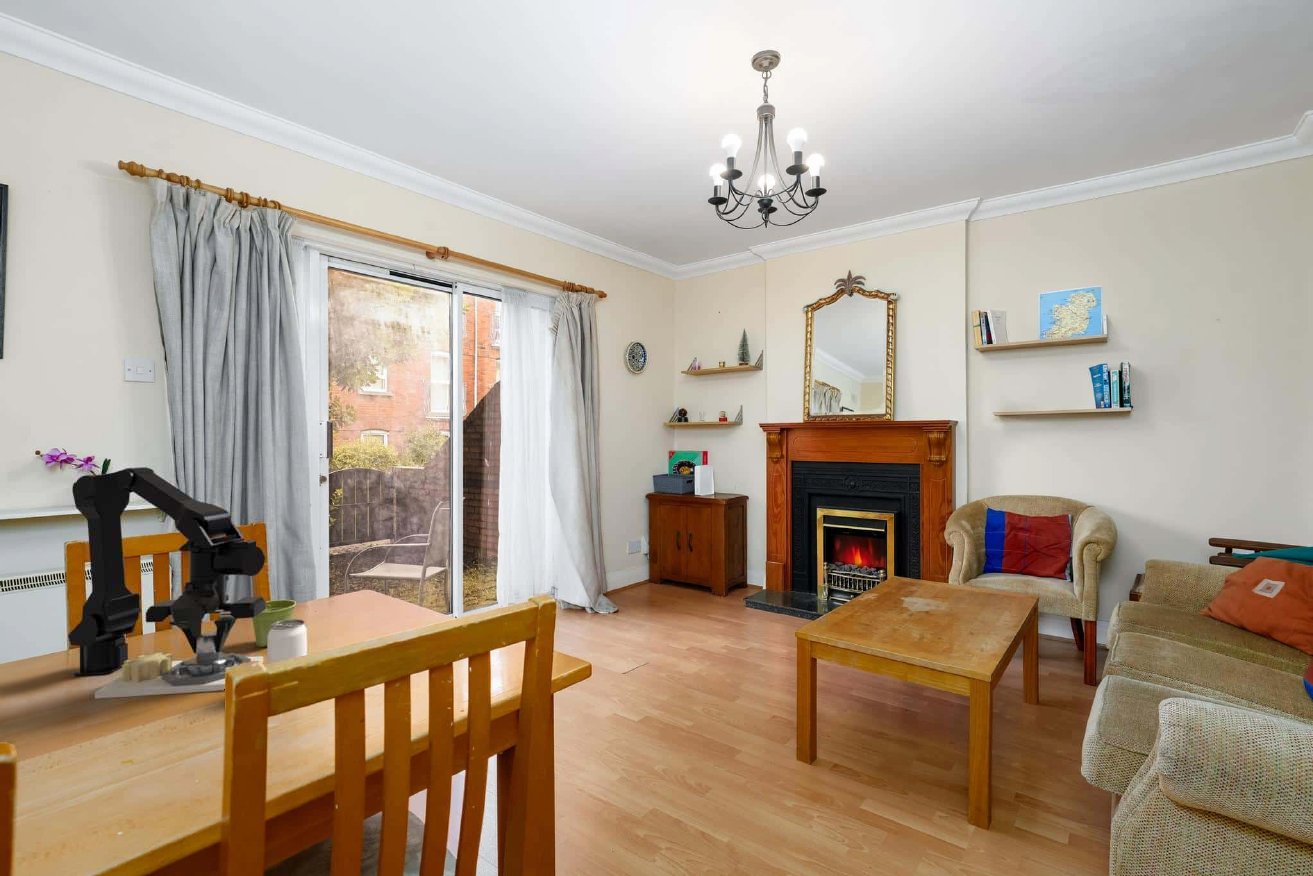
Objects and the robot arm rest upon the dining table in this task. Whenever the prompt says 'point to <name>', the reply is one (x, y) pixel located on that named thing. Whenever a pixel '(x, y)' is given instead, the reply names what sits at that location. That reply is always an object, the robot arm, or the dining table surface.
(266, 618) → the plant pot
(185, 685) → the plate
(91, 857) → the dining table surface
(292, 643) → the can
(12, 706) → the dining table surface
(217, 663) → the planet gear
